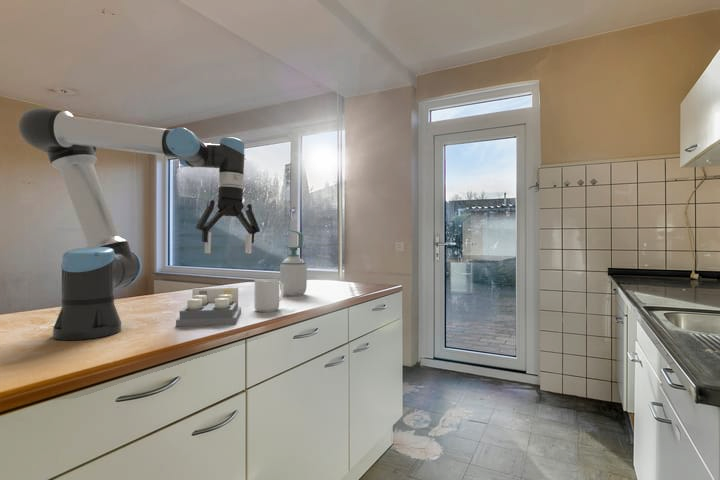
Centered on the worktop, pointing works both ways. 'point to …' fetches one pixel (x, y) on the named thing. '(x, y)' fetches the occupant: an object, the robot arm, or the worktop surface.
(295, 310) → the worktop surface
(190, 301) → the button front left
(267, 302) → the mug
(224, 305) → the button front right
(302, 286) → the soap bottle
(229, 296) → the button back right
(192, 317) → the button pad
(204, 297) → the button back left
